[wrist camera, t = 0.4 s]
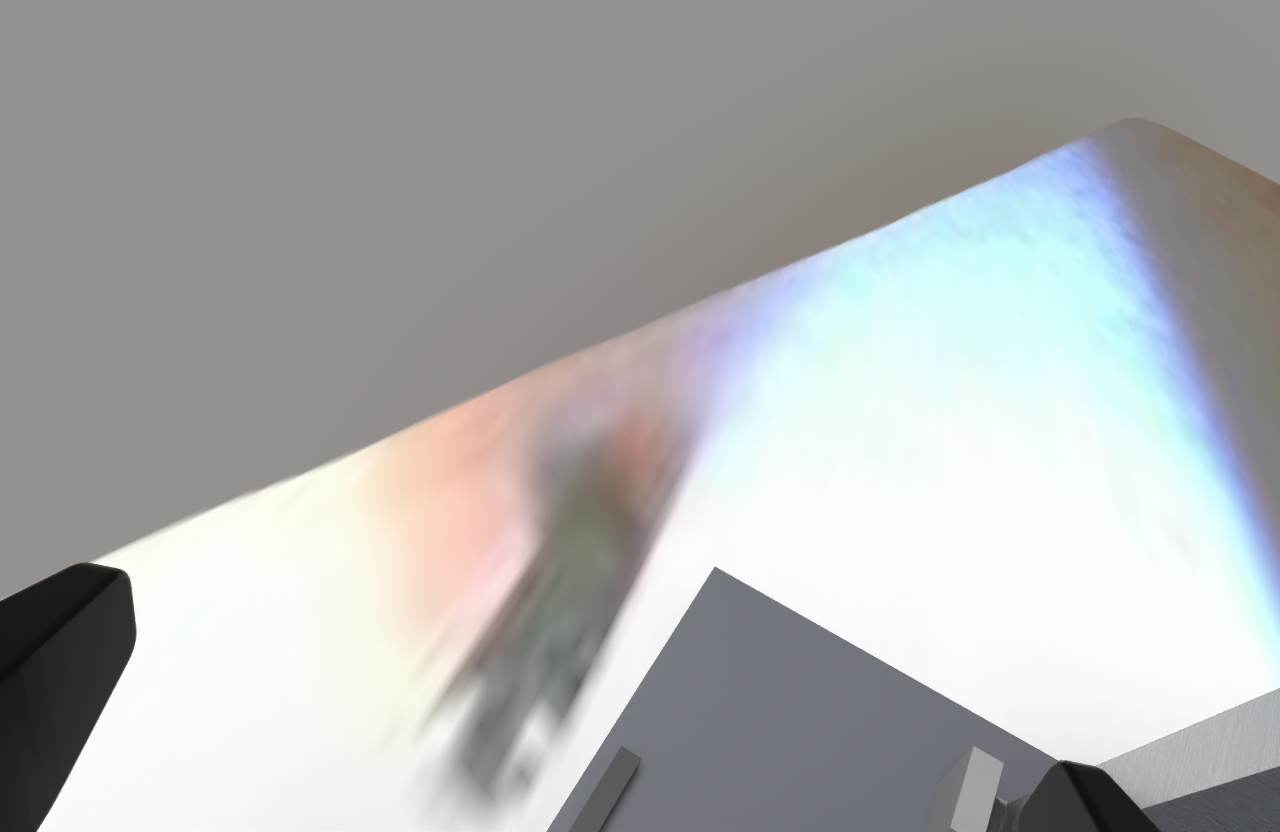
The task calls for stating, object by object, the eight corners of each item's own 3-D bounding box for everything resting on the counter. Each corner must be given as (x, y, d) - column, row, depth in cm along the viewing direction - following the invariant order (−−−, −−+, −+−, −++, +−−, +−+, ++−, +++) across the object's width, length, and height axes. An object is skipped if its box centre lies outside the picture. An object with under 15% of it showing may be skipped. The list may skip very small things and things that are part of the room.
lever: (1092, 953, 23) (1808, 915, 9) (947, 865, 23) (1414, 715, 10) (1114, 876, 23) (1793, 741, 10) (974, 793, 24) (1434, 573, 11)
